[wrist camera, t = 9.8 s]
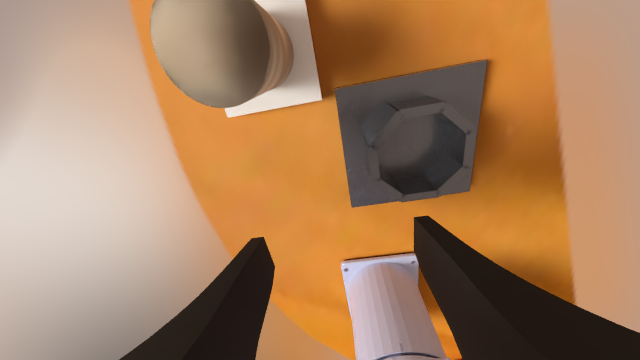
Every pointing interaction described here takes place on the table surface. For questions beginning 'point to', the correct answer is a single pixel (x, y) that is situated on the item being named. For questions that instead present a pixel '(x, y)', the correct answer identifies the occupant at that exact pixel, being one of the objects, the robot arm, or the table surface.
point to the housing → (411, 133)
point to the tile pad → (303, 80)
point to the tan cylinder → (220, 49)
